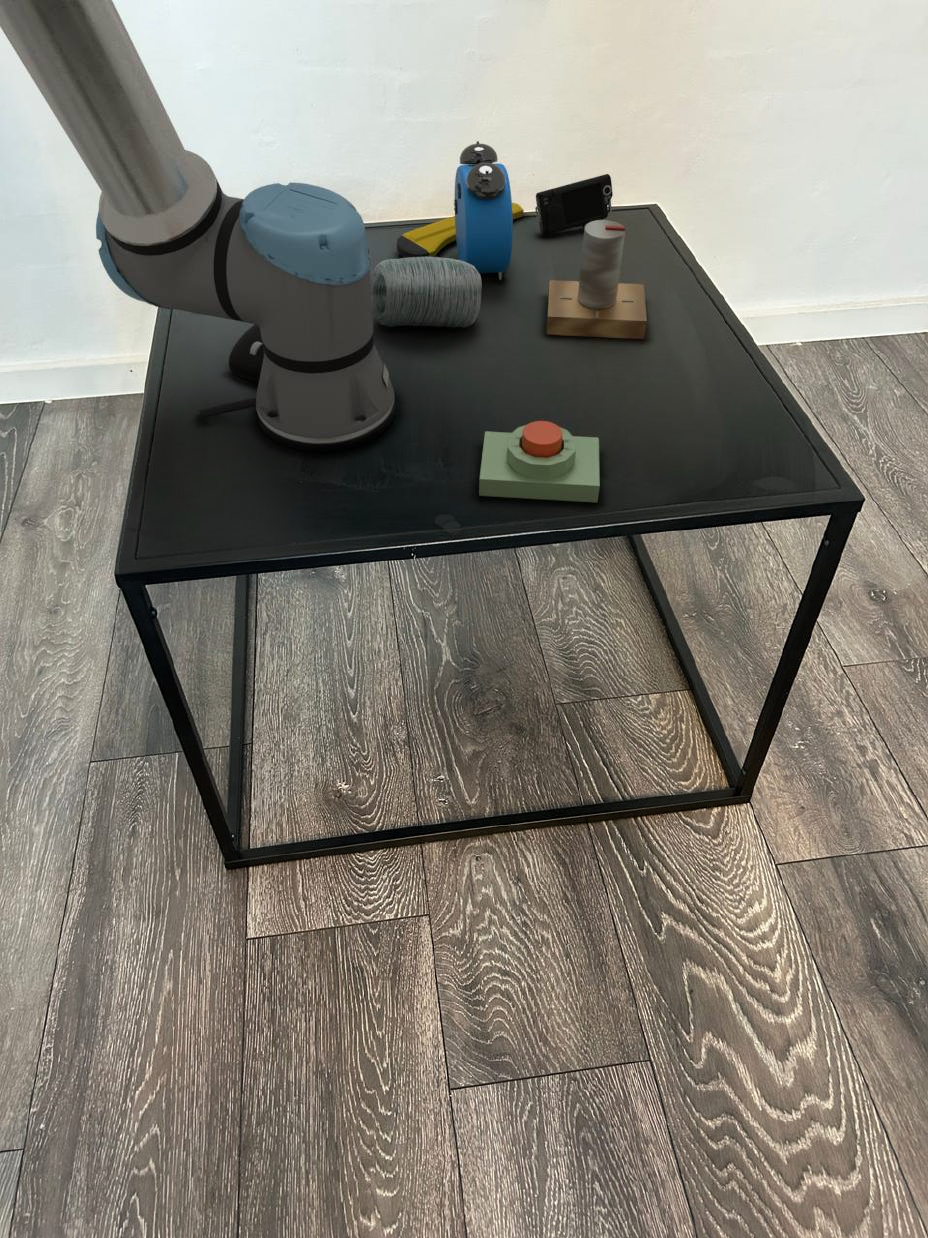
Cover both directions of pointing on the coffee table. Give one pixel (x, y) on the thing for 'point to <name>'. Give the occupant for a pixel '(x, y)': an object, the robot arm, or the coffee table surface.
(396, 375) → the coffee table surface
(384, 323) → the spool
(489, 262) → the alarm clock
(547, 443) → the button
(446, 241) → the utility knife
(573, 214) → the camera
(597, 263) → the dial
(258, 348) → the computer mouse
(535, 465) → the button block
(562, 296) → the panel
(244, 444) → the coffee table surface
